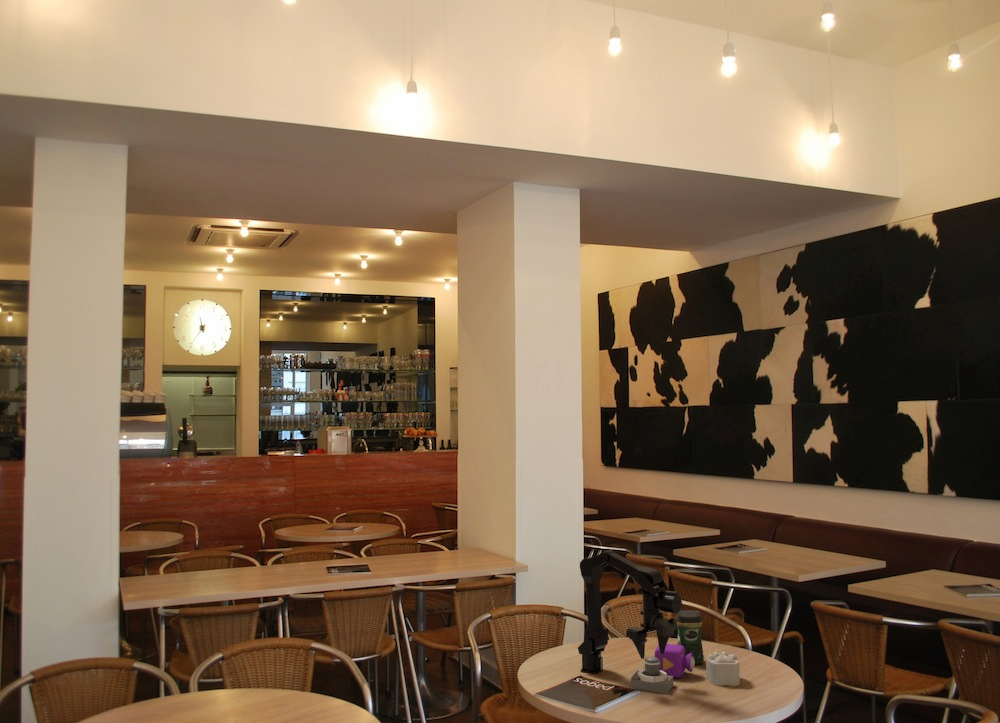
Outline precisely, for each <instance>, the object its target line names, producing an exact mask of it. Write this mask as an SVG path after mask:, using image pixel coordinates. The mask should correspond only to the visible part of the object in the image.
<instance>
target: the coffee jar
mask: <svg viewBox="0 0 1000 723" xmlns="http://www.w3.org/2000/svg"><path fill="white" fill-rule="evenodd" d="M675 614H676V613H675ZM675 619H676V620H677V644H676V645H682V646H684V648H685V656H687V655H688V654H690V653H692V654H693V658H694V661H695V664H697V665H702V664H703V663H704V662H705V657H704V650H703V649H704V648H703V642H702V627H703V624H704V623H703V616H702V613H701V612H700V611H699V610H692V609H691V610H690V609H689V610H680V612H679V613H677V614H676V615H675Z"/></svg>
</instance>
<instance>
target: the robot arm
mask: <svg viewBox="0 0 1000 723" xmlns="http://www.w3.org/2000/svg"><path fill="white" fill-rule="evenodd" d="M608 565H609V566H610V567H612V568H615V569H617V570H618V571H620V572H621V573H624V574H626V576H629V577H630V578H632V579H634V581H635V583H636V584H637V585H638V586H640V589H638V590H637V591H636V594H639V595H642V596H641V597H642V610H641V611H639V614H640V615H641V616H642V623H640V627H638V626H633V627H628V628H627V629H626V630H625V634H626V635H625V636H626V638H628V639H629V640H631V642H632V643H633V644H634V647H635V648H636V651H637V653H638V655H639V657H640V658H641V659H642V660H644V659H645V655H646V653H645V648H646V646H645V644H646V642H647V641H648V639H647V637H648V635H649V634H653V633H656V638H657V643H658V645H659V649H660V653H661V654H664V651H665V648H666V644H668V641H669V638H671V637H672V636H674V635H675V633H676V632H677V633H678V628H677V620H676V617H671V618H669V619H668V618H665V616H664V612H665V613H670V614H677V613H679V612H680V611H682V607H683V601H682V598H681V596H679V592H678V591H672V590H671V591H670V588H669V587H668V585H667V584H666V582H665V580H664V579H663V577H662V573H661V572H660V571H659V570H658V569H655V568H653V567H647V566H642V565H639V564H637V563H636V562H633V561H631V560H630V559H628V558H626V557H624V556H622V555H621V554H618V553H617V552H616V551H614V550H610V549H609V550H605V551H603V552H600V553H599V554H596V555H595V556H589V557H586V558H585V557H584V558H583V559H581V561H579V569H580V570H579V571H580V575H581V577H582V579H583V581H584V582H585V593H586V596H585V597H586V610H587V611H586V612H587V625H586V628H585V630H584V634H583V641H582V643H581V644H580V645H578V647H577V651H578V654H579V655H581V669H580V672H583V673H590V674H600V672H601V671H603V669H604V663H603V662H604V657H603V656H602V652H605V649H606V647H607V645H608V643H609V641H610V638H609V629H608V627H607V628H606V627H605V626H604V624H603V622H602V621H603V620H602V605H601V604H602V603H601V601H602V600H601V586H600V582H601V579H602V578H603V574H604V568H605V567H606V566H608Z"/></svg>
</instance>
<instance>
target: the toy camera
mask: <svg viewBox="0 0 1000 723" xmlns="http://www.w3.org/2000/svg"><path fill="white" fill-rule="evenodd" d="M654 657H655V658H658V659H660V670H662V671H664V672H666V673H667V675H669V676H673V679H674V678H675V679H678V678H681V677H682V676H683V675H684V673H685V670H687V671H688V672H690V673H693V669H694V667H695V666H696V665H695V661H694V658H693V654H692V653H690V654H688V655H687V656H685V648H684V646H682V645H677V644H674V643H672V644H671V643H667V644H666V648H665V651H664V654H661V653H660V649H659V644H658V645H657V647H656V648H655V650H654Z"/></svg>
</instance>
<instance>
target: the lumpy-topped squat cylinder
mask: <svg viewBox="0 0 1000 723" xmlns="http://www.w3.org/2000/svg"><path fill="white" fill-rule="evenodd" d="M737 657H738V656H737V655H736V654H735V653H731V654H729V653H728V652H726V651H724V650H722V651H721V652H719V651H716V650H715V651H714V652H713V653H709V654H708V655H706V657H705V664H706V665H705V668H706V672H705V673H706V681H709V682H710V683H709V682H708V683H709V684H710V685H713V686H717V685H719V686H718V687H721V686H722V687H723V685H729V687H731V686H733V687H735V686H739V685H740V684H741V683H740V682H741V681H740V680H741V679H740V661H739V659H738V658H737Z"/></svg>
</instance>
